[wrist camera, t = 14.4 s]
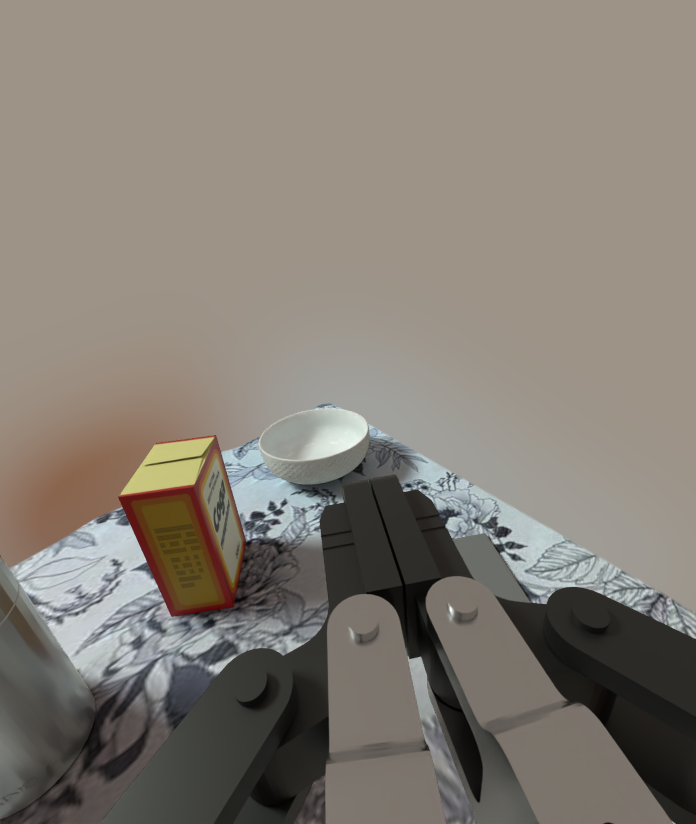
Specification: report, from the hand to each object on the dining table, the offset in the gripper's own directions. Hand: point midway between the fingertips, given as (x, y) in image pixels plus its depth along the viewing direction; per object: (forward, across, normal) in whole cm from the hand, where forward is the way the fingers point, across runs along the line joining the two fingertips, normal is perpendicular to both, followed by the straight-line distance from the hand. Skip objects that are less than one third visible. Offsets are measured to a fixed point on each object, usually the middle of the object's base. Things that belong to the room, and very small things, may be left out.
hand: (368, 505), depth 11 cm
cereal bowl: (+45, +2, +28) cm, 53 cm away
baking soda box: (+26, +16, +28) cm, 42 cm away
